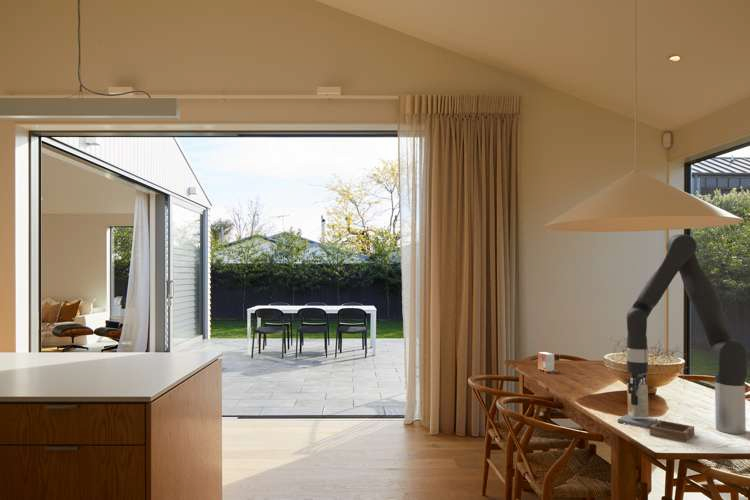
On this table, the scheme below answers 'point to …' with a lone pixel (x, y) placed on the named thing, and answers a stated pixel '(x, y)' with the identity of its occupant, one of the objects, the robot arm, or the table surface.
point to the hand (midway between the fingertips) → (637, 402)
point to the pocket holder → (672, 431)
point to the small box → (545, 361)
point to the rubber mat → (637, 421)
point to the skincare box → (639, 403)
